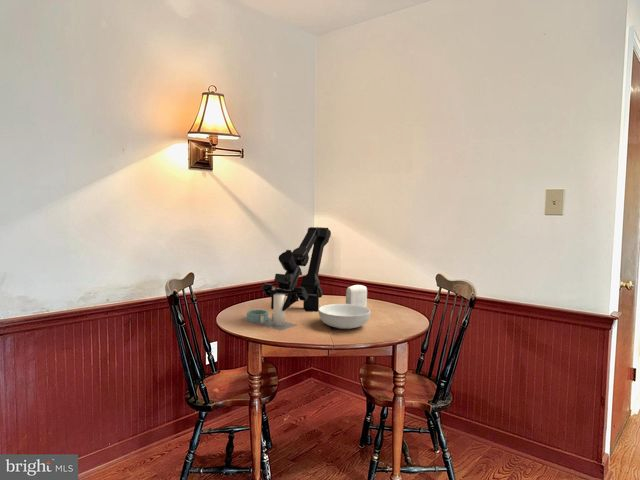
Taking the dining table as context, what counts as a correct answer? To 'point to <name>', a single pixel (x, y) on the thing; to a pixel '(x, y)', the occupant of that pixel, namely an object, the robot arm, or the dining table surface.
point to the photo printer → (356, 295)
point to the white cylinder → (278, 310)
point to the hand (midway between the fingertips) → (277, 309)
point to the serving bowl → (344, 315)
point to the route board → (271, 323)
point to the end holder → (257, 315)
